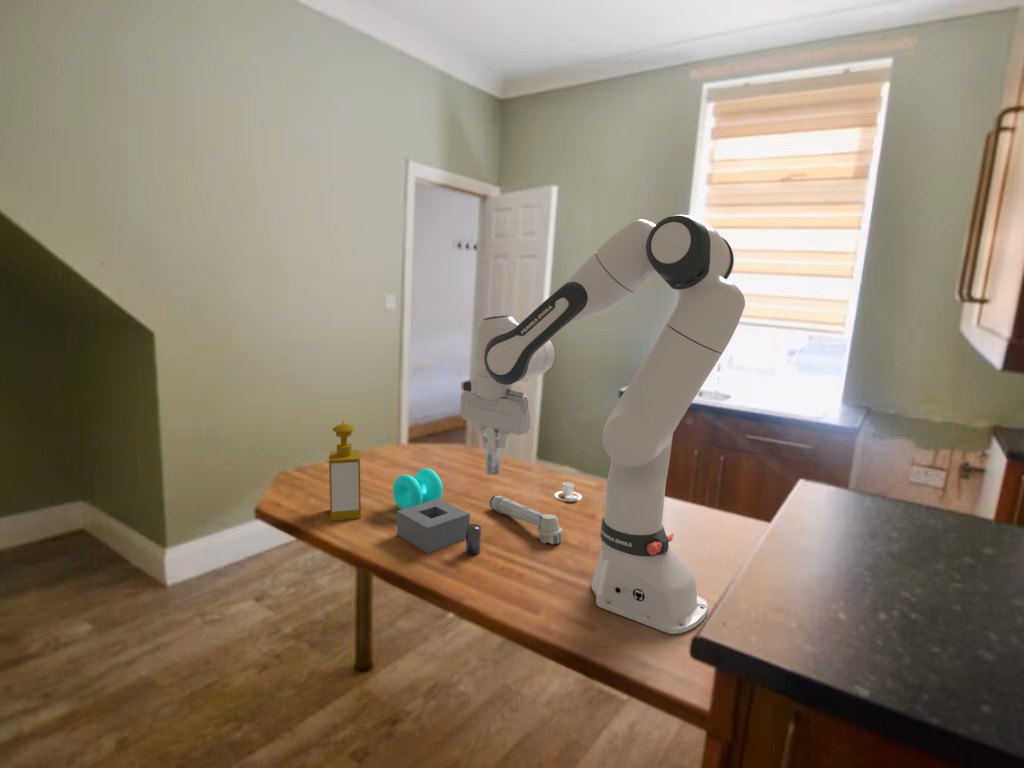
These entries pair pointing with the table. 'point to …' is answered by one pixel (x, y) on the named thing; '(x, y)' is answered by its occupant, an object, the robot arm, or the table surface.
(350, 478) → the soap bottle
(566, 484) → the teacup and saucer
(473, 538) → the short pin
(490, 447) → the long pin
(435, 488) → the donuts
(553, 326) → the robot arm
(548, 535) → the toothbrush head
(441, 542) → the hole block
